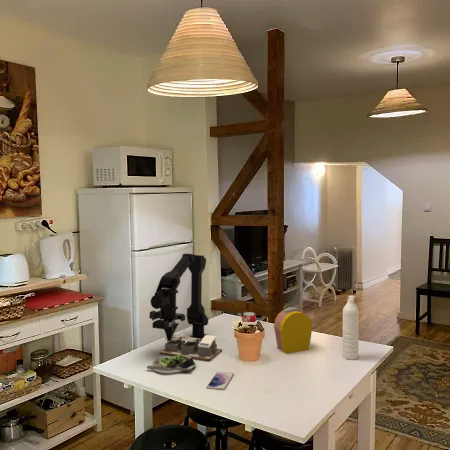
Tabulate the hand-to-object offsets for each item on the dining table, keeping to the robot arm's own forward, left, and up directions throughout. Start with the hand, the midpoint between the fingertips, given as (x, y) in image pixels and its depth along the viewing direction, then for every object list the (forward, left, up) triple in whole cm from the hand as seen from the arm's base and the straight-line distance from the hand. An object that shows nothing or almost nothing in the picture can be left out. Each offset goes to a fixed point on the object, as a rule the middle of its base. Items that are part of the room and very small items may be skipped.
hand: (169, 340), depth 202 cm
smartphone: (+18, +32, -7) cm, 37 cm away
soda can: (-32, +25, -6) cm, 41 cm away
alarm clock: (-25, +48, -6) cm, 55 cm away
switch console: (-5, +8, -6) cm, 11 cm away
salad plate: (+11, +9, -7) cm, 16 cm away
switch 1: (-5, 0, 0) cm, 5 cm away
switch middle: (-5, +8, 0) cm, 9 cm away
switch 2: (-5, +16, 0) cm, 17 cm away
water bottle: (-25, +73, -6) cm, 77 cm away
